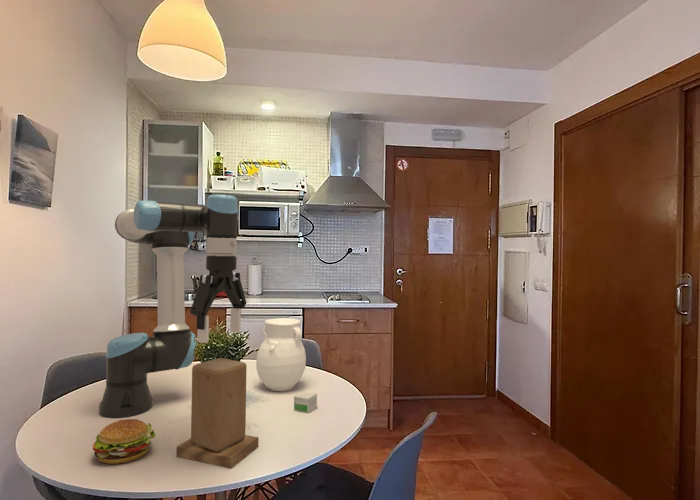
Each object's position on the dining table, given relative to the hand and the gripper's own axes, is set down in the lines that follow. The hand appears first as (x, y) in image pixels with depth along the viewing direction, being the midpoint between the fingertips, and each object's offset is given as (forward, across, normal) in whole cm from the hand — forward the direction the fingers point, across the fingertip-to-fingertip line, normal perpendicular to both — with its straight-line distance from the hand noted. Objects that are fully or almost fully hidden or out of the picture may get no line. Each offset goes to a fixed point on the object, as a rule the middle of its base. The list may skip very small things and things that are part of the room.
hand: (219, 337), depth 113 cm
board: (+29, -2, -1) cm, 29 cm away
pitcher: (+29, +50, +9) cm, 59 cm away
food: (+29, -11, +20) cm, 37 cm away
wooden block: (+26, -2, -1) cm, 27 cm away
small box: (+29, +34, -9) cm, 45 cm away
